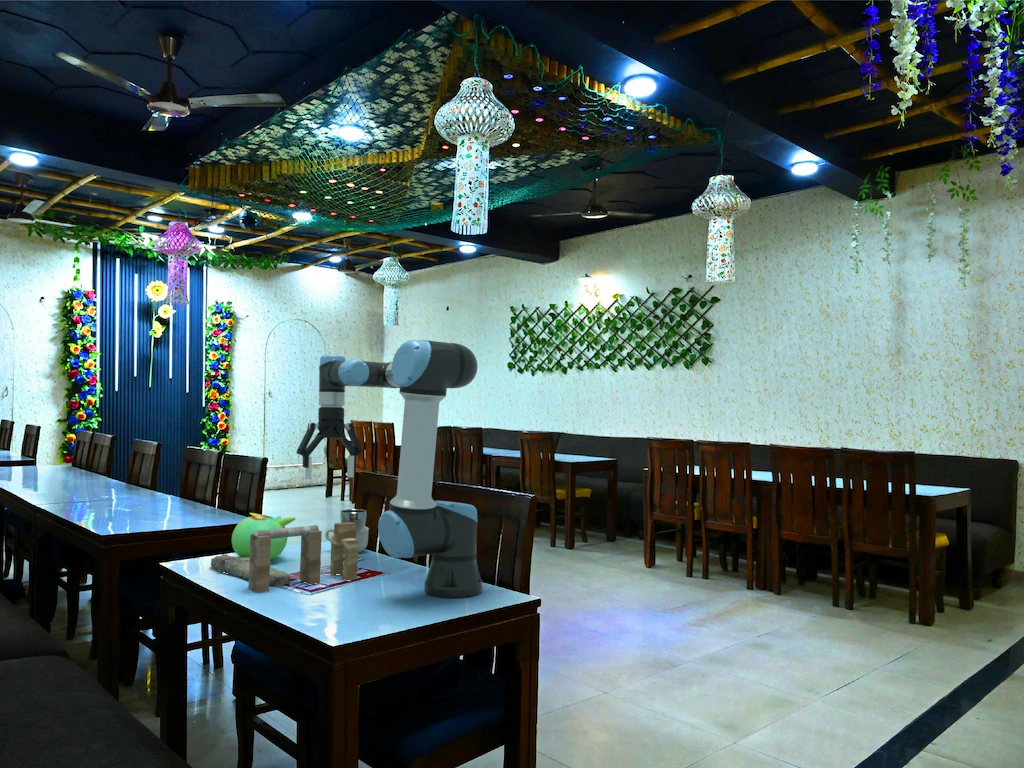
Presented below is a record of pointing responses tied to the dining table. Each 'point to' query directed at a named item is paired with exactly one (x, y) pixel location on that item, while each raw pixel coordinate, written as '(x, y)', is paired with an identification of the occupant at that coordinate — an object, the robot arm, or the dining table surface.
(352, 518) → the wine glass
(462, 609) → the dining table surface
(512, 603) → the dining table surface
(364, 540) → the teacup
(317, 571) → the rod stand
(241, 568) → the elongated rock
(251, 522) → the green bird toy
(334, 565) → the oak hanger
